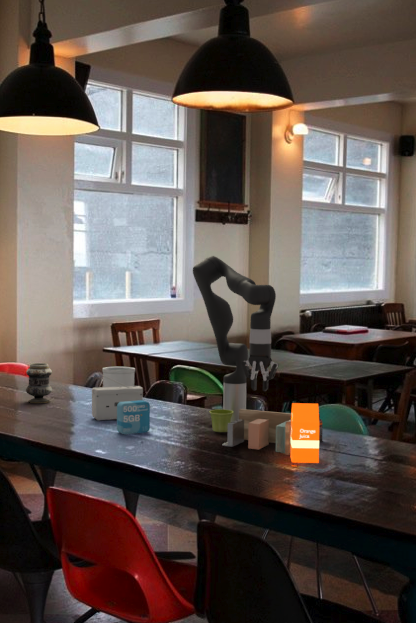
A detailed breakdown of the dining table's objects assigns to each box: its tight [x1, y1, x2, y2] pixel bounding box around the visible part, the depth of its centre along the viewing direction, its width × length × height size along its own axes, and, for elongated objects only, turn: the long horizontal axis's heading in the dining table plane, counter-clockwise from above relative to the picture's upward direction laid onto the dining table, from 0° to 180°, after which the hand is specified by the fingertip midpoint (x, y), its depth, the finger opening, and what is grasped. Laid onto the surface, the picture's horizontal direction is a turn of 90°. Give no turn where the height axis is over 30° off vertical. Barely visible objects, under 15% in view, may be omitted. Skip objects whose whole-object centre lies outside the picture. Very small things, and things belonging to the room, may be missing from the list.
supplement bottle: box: [319, 413, 323, 444], centre depth 307 cm, size 6×6×11 cm
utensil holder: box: [102, 366, 136, 387], centre depth 385 cm, size 15×15×18 cm
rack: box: [239, 408, 292, 456], centre depth 297 cm, size 16×25×12 cm, turn 64°
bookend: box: [222, 419, 245, 448], centre depth 301 cm, size 10×4×8 cm, turn 154°
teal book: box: [275, 421, 287, 454], centre depth 292 cm, size 10×4×9 cm, turn 154°
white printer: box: [91, 372, 144, 421], centre depth 354 cm, size 21×8×20 cm, turn 108°
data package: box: [116, 400, 151, 435], centre depth 326 cm, size 12×4×12 cm, turn 118°
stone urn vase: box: [25, 362, 53, 404], centre depth 395 cm, size 12×12×18 cm
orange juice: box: [289, 402, 320, 467], centre depth 277 cm, size 8×9×20 cm
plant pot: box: [209, 408, 234, 433], centre depth 325 cm, size 9×9×9 cm
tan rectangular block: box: [247, 419, 270, 451], centre depth 297 cm, size 4×9×9 cm, turn 154°
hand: (259, 390), depth 296 cm, fingers open, 3 cm apart
